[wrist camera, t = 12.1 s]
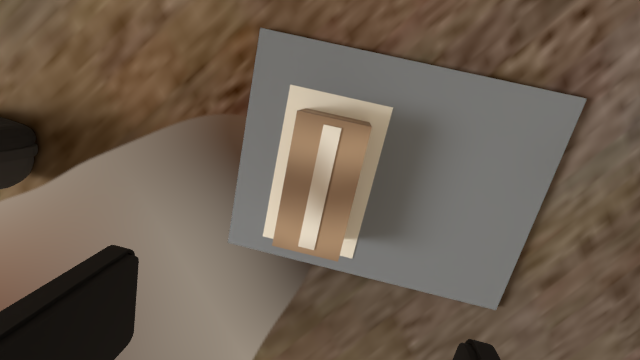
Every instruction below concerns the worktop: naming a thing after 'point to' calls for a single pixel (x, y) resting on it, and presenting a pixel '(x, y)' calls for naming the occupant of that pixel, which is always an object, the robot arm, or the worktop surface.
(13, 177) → the headphones
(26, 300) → the robot arm
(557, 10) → the worktop surface
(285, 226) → the block
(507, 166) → the mat
